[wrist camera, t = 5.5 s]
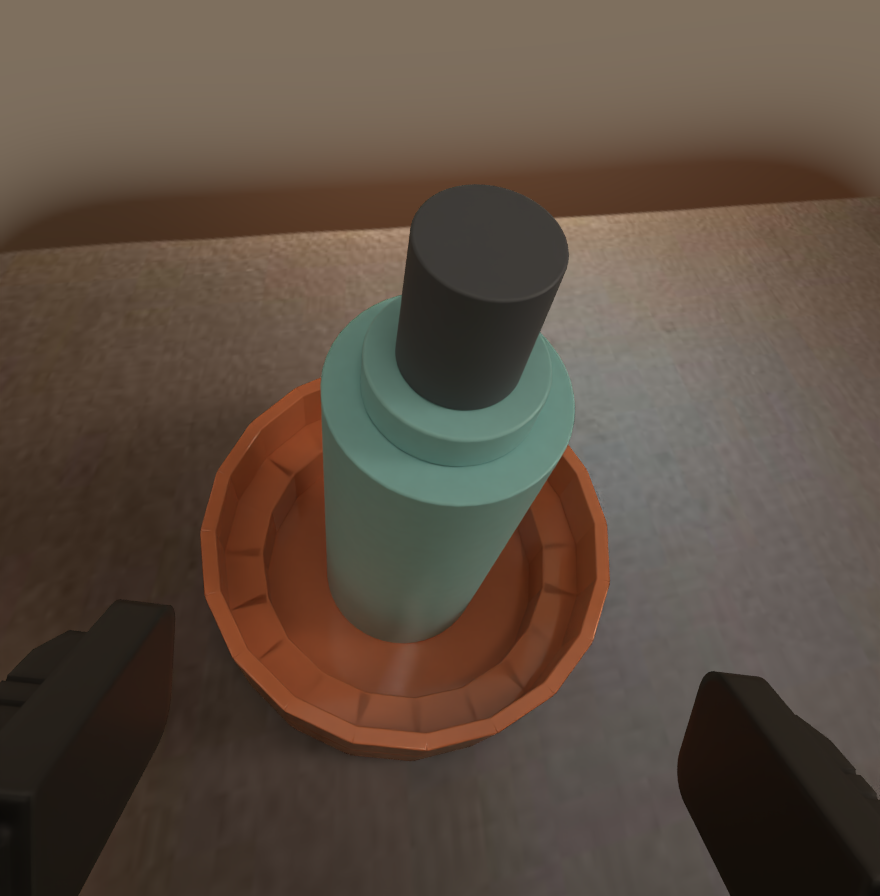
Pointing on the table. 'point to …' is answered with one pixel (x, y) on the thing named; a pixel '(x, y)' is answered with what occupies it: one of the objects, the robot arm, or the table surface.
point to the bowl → (376, 661)
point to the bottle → (443, 413)
